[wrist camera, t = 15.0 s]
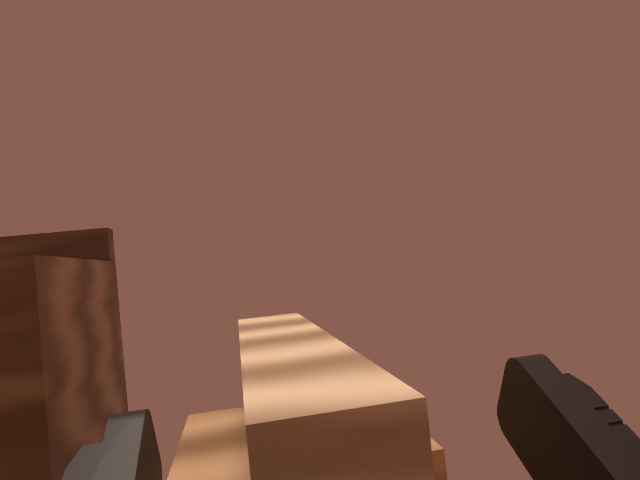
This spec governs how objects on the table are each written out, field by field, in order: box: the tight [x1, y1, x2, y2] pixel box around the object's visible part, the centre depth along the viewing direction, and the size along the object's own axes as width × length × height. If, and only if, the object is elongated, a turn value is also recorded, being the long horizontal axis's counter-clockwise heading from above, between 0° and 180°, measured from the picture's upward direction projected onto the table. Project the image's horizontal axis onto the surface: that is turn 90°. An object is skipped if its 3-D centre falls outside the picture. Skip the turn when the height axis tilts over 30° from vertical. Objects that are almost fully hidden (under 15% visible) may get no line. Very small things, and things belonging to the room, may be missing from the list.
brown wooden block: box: [238, 313, 435, 480], centre depth 23 cm, size 24×4×4 cm, turn 10°
